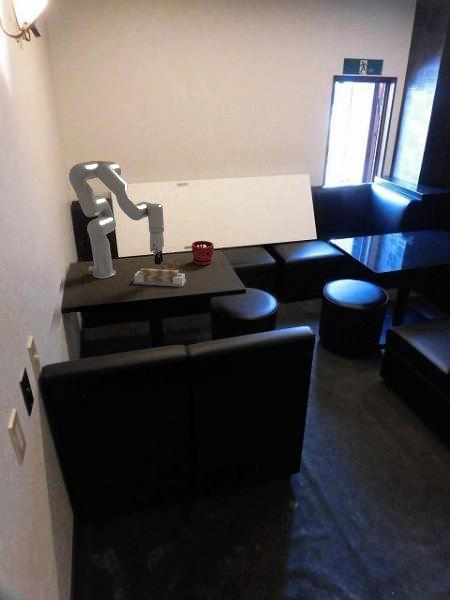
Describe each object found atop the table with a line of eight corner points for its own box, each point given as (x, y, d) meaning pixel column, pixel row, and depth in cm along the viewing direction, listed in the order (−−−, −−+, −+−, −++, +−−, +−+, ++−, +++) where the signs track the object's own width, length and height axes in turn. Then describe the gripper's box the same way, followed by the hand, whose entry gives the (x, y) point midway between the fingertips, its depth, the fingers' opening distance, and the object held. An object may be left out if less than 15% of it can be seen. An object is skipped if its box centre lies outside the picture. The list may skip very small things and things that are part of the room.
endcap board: (133, 283, 217) (132, 275, 215) (138, 278, 224) (137, 270, 222) (182, 286, 213) (182, 278, 212) (186, 280, 221) (186, 273, 219)
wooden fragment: (180, 275, 229) (180, 273, 229) (160, 275, 228) (160, 273, 228) (181, 259, 252) (181, 258, 252) (163, 260, 252) (163, 258, 251)
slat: (141, 280, 219) (140, 269, 216) (142, 278, 221) (141, 268, 218) (177, 282, 216) (177, 271, 214) (178, 280, 218) (178, 270, 216)
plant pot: (193, 267, 240) (193, 247, 235) (191, 259, 252) (190, 240, 247) (215, 265, 243) (215, 246, 237) (211, 258, 254) (211, 239, 249)
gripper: (154, 224, 214) (156, 257, 222) (144, 232, 199) (147, 268, 207) (168, 225, 213) (169, 258, 221) (159, 233, 198) (161, 268, 206)
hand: (158, 262), depth 214 cm, fingers open, 3 cm apart
